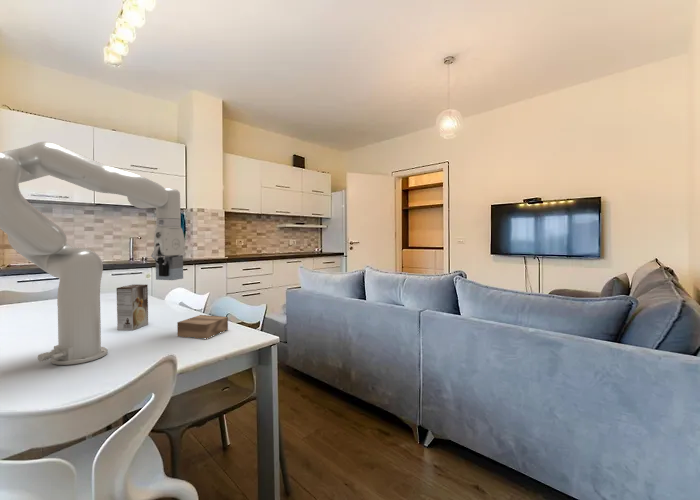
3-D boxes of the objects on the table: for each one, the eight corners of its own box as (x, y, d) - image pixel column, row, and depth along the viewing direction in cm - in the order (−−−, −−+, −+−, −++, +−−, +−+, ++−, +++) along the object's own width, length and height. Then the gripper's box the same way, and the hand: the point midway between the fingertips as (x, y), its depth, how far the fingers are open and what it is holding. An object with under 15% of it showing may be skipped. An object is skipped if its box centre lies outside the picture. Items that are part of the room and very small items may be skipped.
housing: (172, 280, 115) (172, 257, 115) (155, 279, 117) (155, 256, 117) (183, 278, 120) (182, 256, 120) (166, 277, 122) (166, 255, 121)
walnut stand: (206, 339, 115) (206, 324, 115) (177, 336, 118) (177, 322, 118) (227, 330, 126) (227, 317, 126) (200, 327, 129) (200, 314, 129)
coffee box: (133, 324, 134) (132, 284, 133) (148, 324, 133) (148, 284, 133) (116, 330, 124) (116, 287, 124) (133, 330, 124) (133, 287, 124)
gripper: (158, 223, 109) (159, 278, 109) (194, 224, 125) (195, 273, 126) (139, 223, 110) (140, 278, 111) (177, 224, 127) (178, 272, 128)
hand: (169, 274), depth 119 cm, fingers closed on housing, 5 cm apart
